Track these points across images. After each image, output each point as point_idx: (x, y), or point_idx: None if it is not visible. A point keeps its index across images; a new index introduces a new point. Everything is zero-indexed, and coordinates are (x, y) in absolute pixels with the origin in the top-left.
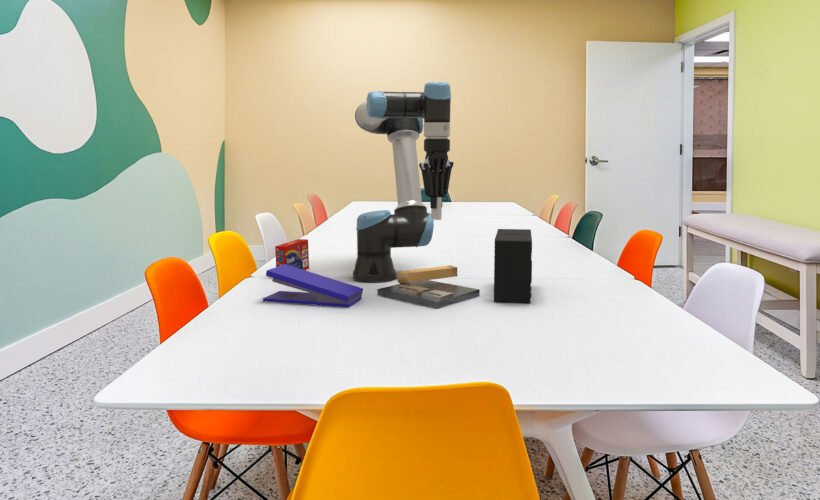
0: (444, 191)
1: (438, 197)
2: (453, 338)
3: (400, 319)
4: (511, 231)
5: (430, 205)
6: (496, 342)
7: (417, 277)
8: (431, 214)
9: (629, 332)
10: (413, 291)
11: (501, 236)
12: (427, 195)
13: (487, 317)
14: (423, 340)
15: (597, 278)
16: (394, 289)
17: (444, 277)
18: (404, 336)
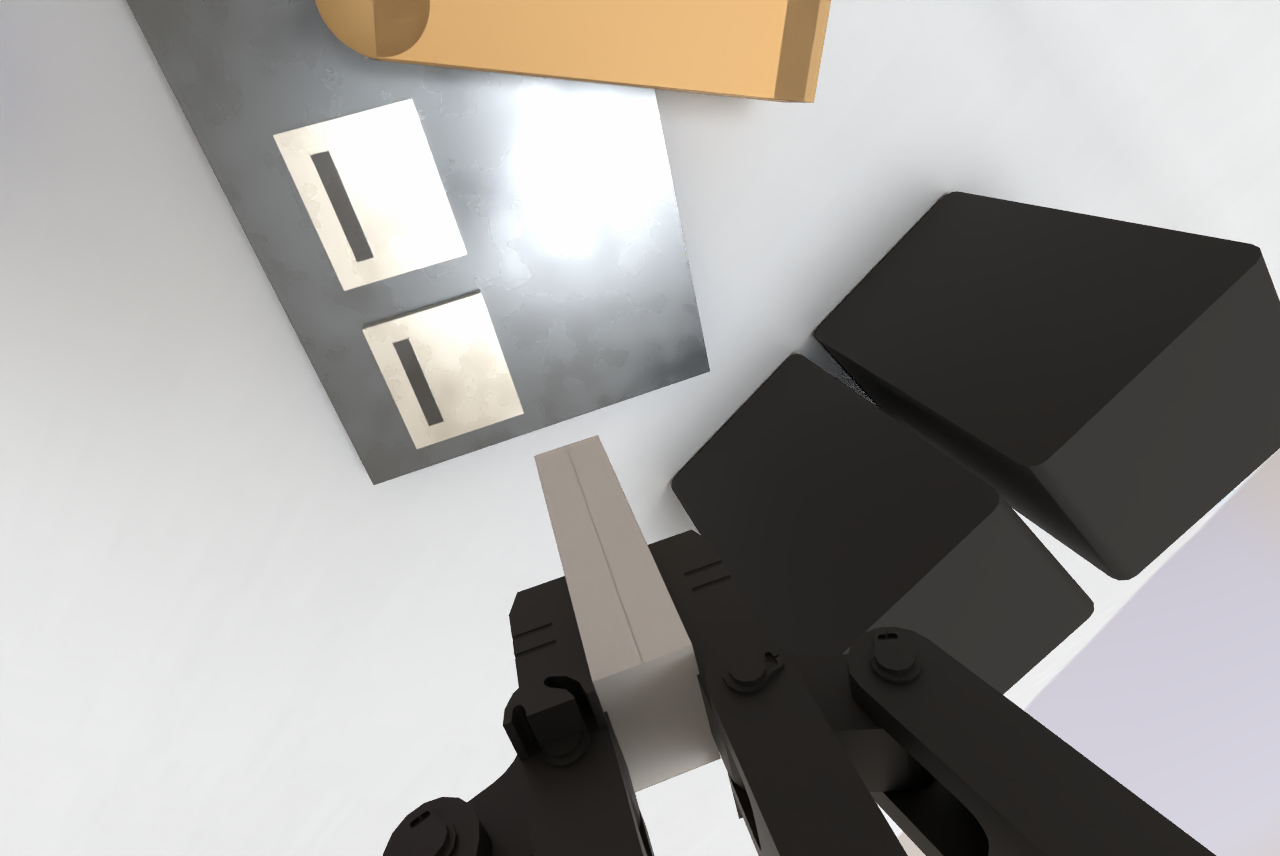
0: (875, 789)
1: (675, 747)
2: (238, 794)
3: (111, 548)
4: (1172, 436)
5: (511, 630)
6: (356, 845)
7: (471, 68)
8: (544, 491)
9: (732, 842)
10: (333, 266)
11: (932, 603)
12: (505, 720)
13: (499, 642)
14: (112, 791)
15: None
16: (252, 81)
17: (689, 92)
18: (46, 742)
